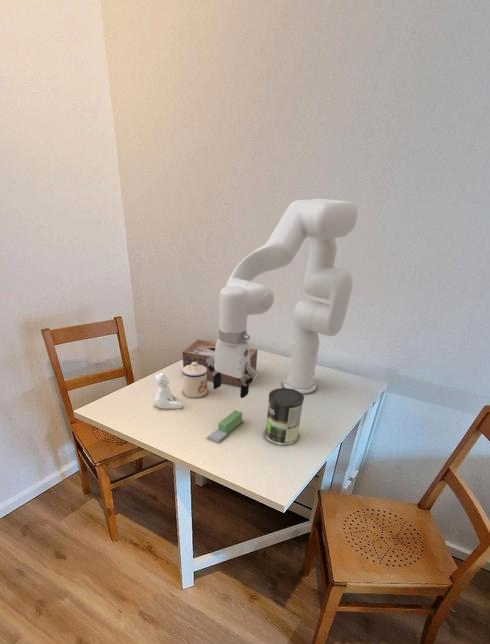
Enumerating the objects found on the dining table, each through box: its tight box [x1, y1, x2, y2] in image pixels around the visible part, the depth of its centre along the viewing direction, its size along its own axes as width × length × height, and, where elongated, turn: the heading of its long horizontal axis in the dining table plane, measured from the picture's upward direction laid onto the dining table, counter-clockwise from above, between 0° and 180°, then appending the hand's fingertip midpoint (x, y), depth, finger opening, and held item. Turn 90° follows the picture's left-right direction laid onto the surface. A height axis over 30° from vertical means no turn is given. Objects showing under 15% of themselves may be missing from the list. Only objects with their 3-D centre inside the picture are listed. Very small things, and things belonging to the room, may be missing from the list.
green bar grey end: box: [208, 409, 243, 443], centre depth 122 cm, size 14×4×4 cm, turn 147°
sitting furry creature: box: [153, 372, 182, 410], centre depth 131 cm, size 10×9×12 cm
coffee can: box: [264, 387, 305, 446], centre depth 117 cm, size 10×10×14 cm
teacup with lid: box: [181, 362, 208, 398], centre depth 140 cm, size 12×9×12 cm
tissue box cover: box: [182, 339, 258, 388], centre depth 152 cm, size 26×14×10 cm, turn 70°
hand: (230, 391), depth 116 cm, fingers open, 9 cm apart
